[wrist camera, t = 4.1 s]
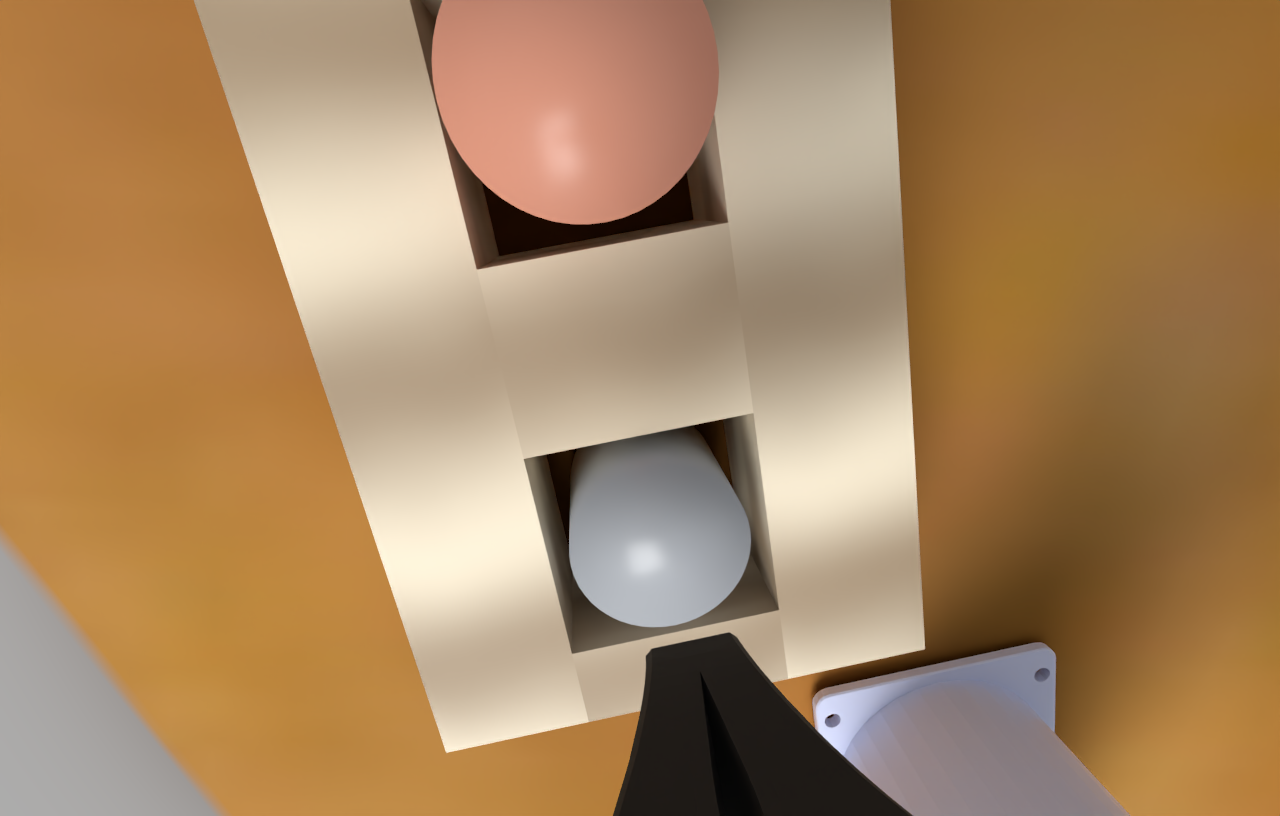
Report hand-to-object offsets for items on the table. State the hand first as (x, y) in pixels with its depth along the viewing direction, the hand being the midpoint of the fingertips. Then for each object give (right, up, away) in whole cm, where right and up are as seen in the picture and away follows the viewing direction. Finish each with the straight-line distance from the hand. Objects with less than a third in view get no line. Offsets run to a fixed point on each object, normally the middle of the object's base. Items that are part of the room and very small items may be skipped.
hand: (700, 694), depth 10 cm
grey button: (-1, +2, +8) cm, 9 cm away
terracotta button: (-2, +10, +3) cm, 11 cm away
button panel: (-2, +7, +7) cm, 10 cm away
